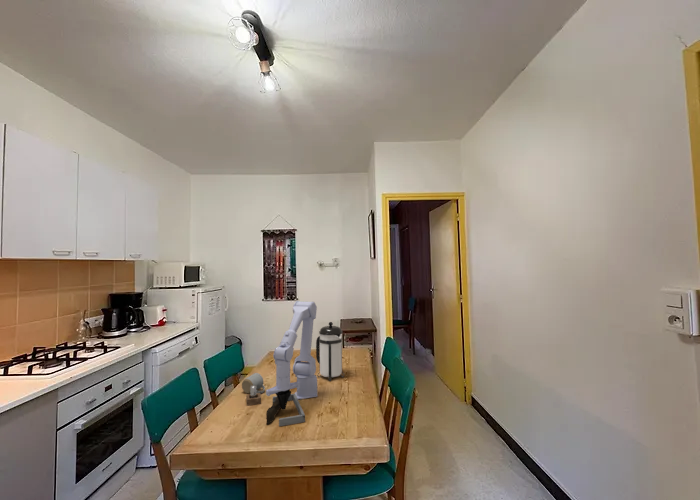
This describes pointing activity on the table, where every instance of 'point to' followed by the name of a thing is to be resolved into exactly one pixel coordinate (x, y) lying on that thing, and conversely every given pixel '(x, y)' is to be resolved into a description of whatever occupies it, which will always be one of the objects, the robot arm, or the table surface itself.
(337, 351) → the coffee press
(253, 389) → the rod
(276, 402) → the hand tool
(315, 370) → the robot arm
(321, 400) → the table surface
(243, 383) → the ceramic mug
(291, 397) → the u-shaped frame
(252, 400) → the hollow square frame
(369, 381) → the table surface
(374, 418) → the table surface
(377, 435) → the table surface
